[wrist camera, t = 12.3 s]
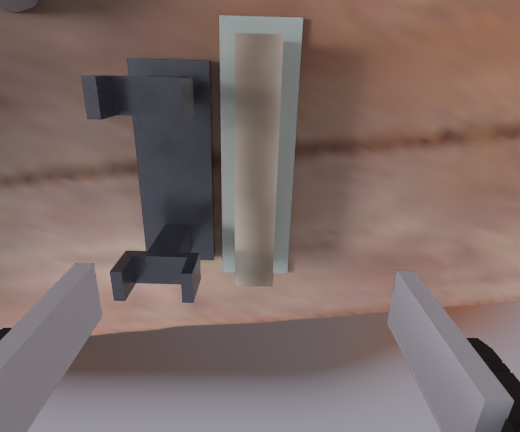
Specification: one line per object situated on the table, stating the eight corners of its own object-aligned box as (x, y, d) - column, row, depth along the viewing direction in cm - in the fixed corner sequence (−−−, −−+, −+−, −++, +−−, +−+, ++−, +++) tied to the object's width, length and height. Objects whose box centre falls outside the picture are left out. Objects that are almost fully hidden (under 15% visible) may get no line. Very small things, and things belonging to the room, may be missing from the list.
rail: (238, 258, 44) (234, 285, 38) (239, 39, 35) (234, 32, 29) (271, 259, 44) (272, 286, 38) (280, 40, 35) (283, 34, 29)
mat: (223, 269, 45) (222, 272, 45) (219, 16, 35) (219, 15, 34) (287, 271, 45) (287, 273, 45) (302, 18, 35) (303, 17, 34)
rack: (149, 253, 44) (111, 314, 33) (130, 58, 36) (72, 52, 25) (214, 255, 44) (198, 316, 33) (210, 60, 36) (186, 55, 25)
